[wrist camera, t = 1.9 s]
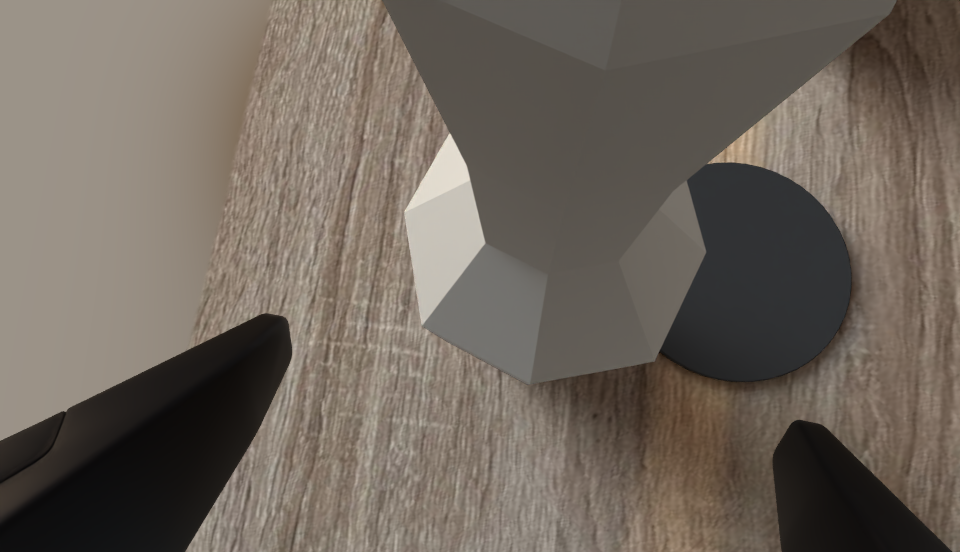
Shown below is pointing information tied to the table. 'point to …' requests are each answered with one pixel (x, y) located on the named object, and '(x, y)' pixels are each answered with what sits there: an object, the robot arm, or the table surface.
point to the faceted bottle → (588, 160)
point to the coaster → (759, 277)
